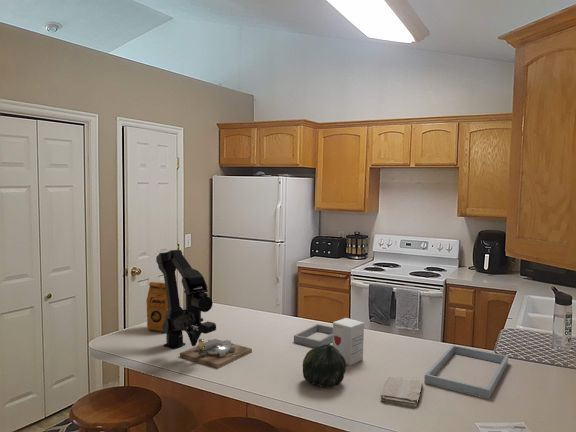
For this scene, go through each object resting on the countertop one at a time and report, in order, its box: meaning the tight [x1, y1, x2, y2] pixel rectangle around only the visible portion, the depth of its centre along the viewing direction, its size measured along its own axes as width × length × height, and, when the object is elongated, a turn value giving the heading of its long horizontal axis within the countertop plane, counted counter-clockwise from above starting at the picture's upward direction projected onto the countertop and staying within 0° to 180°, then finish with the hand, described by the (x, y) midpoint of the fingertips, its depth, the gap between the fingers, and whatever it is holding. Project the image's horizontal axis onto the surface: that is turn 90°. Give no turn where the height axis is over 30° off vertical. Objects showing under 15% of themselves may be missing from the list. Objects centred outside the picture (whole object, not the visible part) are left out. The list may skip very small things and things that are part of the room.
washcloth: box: [380, 375, 423, 408], centre depth 157 cm, size 12×18×3 cm, turn 160°
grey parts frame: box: [293, 323, 333, 348], centre depth 209 cm, size 13×20×3 cm, turn 147°
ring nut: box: [196, 338, 237, 357], centre depth 188 cm, size 14×17×7 cm
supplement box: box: [332, 317, 365, 366], centre depth 185 cm, size 9×9×15 cm
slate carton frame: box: [423, 344, 509, 400], centre depth 174 cm, size 21×36×3 cm, turn 147°
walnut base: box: [179, 338, 253, 369], centre depth 189 cm, size 20×20×2 cm
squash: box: [302, 343, 347, 389], centre depth 163 cm, size 14×15×15 cm
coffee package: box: [146, 281, 168, 333], centre depth 218 cm, size 10×12×22 cm
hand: (193, 345), depth 184 cm, fingers closed
